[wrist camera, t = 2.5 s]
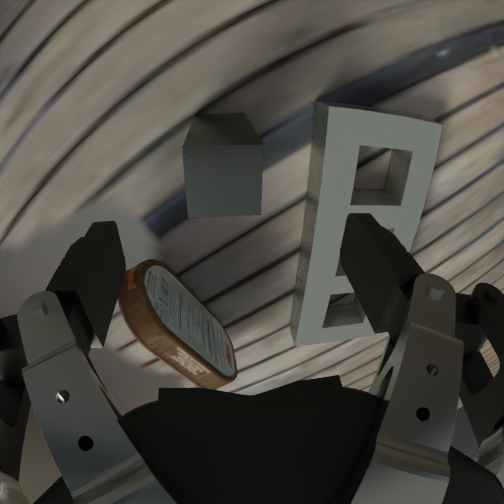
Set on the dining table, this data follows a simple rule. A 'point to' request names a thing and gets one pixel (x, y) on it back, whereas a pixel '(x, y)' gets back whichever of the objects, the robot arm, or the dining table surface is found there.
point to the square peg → (222, 166)
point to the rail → (355, 207)
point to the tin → (176, 325)
